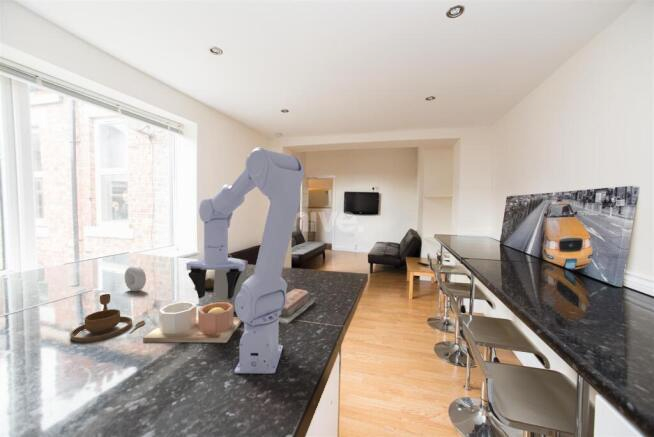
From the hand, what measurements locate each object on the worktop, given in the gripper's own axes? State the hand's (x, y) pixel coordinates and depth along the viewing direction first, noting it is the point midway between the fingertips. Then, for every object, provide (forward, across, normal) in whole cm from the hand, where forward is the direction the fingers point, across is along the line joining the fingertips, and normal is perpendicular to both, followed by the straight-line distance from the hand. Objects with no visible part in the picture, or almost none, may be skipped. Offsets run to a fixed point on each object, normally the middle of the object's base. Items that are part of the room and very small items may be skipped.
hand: (216, 297), depth 66 cm
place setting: (+10, +30, -3) cm, 32 cm away
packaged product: (+10, -17, -14) cm, 24 cm away
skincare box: (+9, +2, -15) cm, 18 cm away
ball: (+5, 0, 0) cm, 5 cm away
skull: (+9, +18, -36) cm, 42 cm away
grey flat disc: (+9, +44, -30) cm, 54 cm away
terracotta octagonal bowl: (+9, 0, 0) cm, 9 cm away
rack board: (+9, +5, 0) cm, 10 cm away
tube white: (+9, +10, 0) cm, 13 cm away
